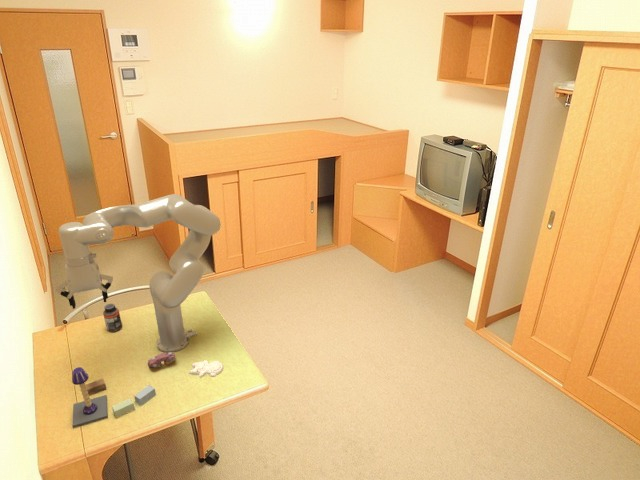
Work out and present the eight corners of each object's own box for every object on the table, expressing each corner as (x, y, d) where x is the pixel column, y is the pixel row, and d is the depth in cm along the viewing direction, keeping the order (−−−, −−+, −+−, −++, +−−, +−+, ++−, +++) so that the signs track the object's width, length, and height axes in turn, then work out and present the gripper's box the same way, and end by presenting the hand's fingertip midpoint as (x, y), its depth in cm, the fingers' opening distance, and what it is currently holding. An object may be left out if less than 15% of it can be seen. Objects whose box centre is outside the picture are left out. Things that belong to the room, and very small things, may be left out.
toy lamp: (80, 417, 142) (69, 376, 135) (81, 406, 146) (70, 367, 139) (97, 412, 144) (86, 372, 137) (97, 402, 147) (87, 363, 140)
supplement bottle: (112, 323, 189) (107, 301, 185) (125, 325, 189) (120, 302, 184) (104, 332, 184) (98, 309, 179) (117, 333, 183) (112, 310, 179)
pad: (106, 397, 151) (106, 394, 151) (107, 417, 143) (107, 415, 142) (74, 406, 147) (73, 403, 147) (73, 428, 139) (72, 425, 139)
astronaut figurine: (194, 361, 169) (194, 355, 167) (225, 363, 168) (225, 357, 166) (186, 377, 161) (185, 371, 159) (219, 379, 160) (218, 373, 159)
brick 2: (132, 404, 149) (130, 397, 147) (135, 409, 146) (133, 402, 145) (113, 413, 145) (111, 406, 144) (116, 418, 143) (114, 411, 142)
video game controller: (150, 373, 164) (149, 365, 159) (147, 362, 167) (146, 354, 161) (177, 364, 169) (177, 356, 163) (174, 354, 171) (173, 345, 166)
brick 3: (150, 391, 154) (149, 384, 153) (156, 395, 152) (154, 388, 151) (135, 402, 149) (134, 395, 148) (141, 406, 148) (139, 399, 147)
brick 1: (104, 384, 157) (103, 378, 155) (106, 389, 154) (104, 383, 153) (86, 391, 154) (84, 385, 152) (87, 397, 151) (85, 390, 150)
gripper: (107, 250, 152) (116, 292, 159) (50, 259, 145) (62, 303, 152) (108, 259, 146) (117, 303, 153) (48, 269, 139) (60, 315, 146)
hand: (90, 303), depth 152 cm, fingers open, 9 cm apart
